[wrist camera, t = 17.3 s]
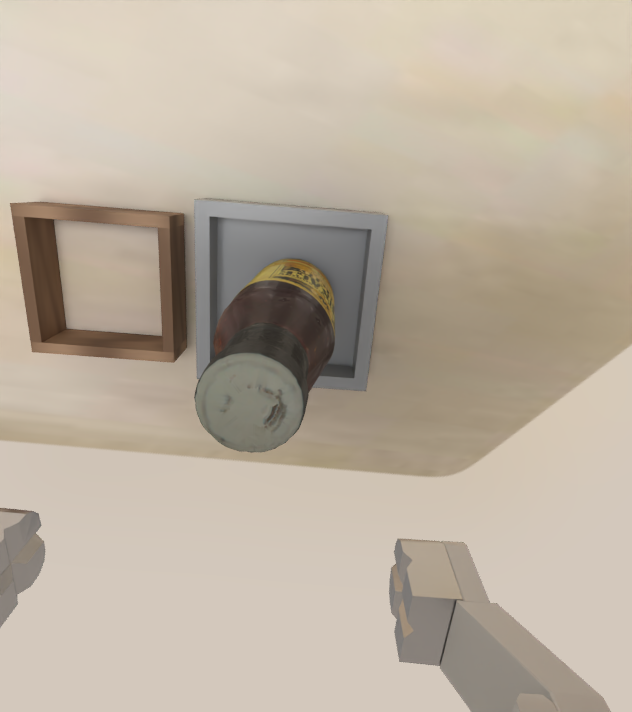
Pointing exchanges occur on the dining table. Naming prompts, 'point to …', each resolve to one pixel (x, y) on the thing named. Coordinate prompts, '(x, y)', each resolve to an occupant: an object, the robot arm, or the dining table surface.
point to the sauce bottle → (267, 357)
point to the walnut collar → (46, 290)
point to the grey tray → (292, 241)
